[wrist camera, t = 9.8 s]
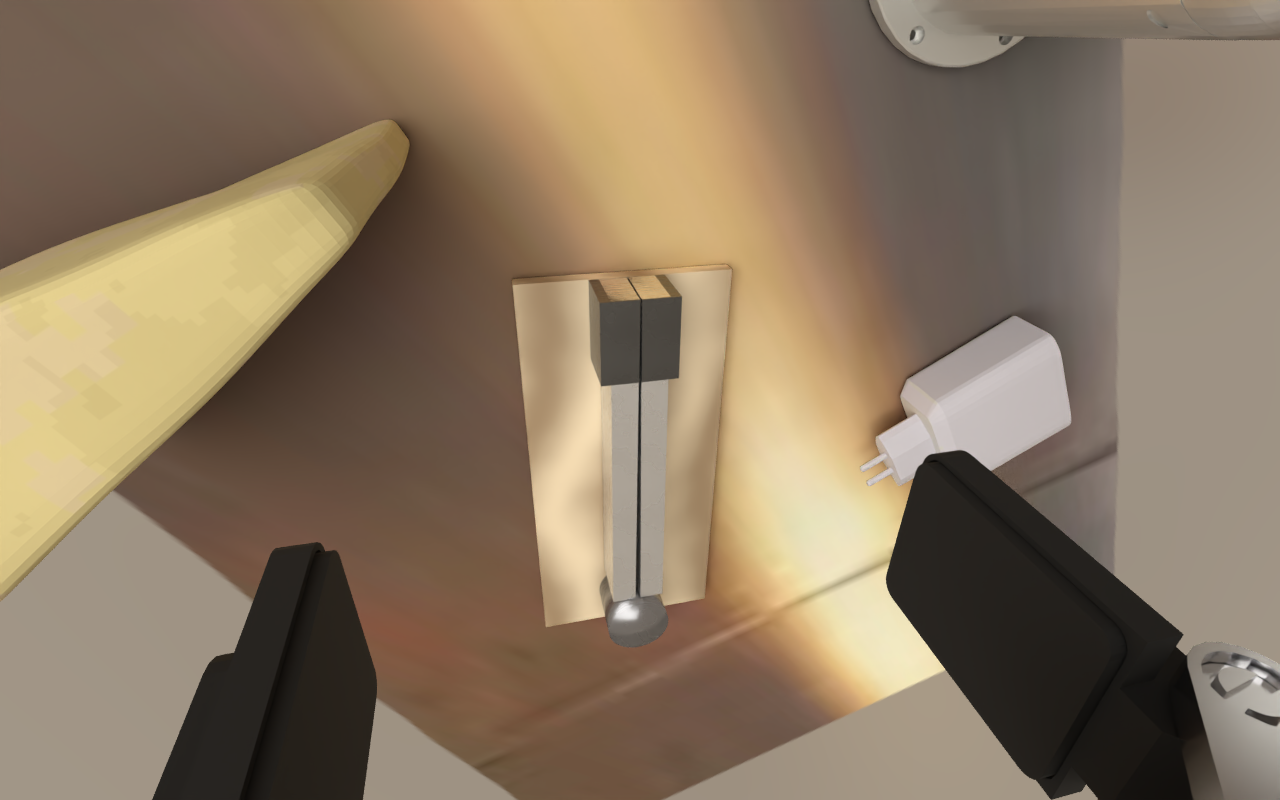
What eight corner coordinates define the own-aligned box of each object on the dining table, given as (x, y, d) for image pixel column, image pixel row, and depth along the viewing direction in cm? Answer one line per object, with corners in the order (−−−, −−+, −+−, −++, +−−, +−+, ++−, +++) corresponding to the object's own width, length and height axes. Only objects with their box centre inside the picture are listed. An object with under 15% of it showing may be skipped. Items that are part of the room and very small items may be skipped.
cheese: (331, 29, 29) (227, 31, 16) (464, 213, 34) (463, 322, 22) (-47, 288, 30) (-409, 473, 18) (136, 426, 36) (-44, 644, 23)
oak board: (726, 263, 39) (732, 269, 38) (700, 589, 53) (704, 598, 52) (511, 278, 36) (512, 285, 36) (544, 617, 50) (546, 627, 50)
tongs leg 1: (625, 563, 48) (635, 599, 45) (596, 568, 48) (605, 604, 45) (626, 277, 37) (640, 300, 34) (588, 279, 36) (599, 302, 33)
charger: (829, 418, 47) (1008, 311, 46) (864, 494, 52) (1027, 399, 51) (862, 454, 43) (1059, 337, 42) (897, 532, 48) (1074, 430, 47)
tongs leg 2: (658, 557, 49) (670, 593, 46) (629, 562, 48) (640, 598, 45) (664, 274, 37) (682, 296, 34) (627, 277, 37) (642, 299, 34)
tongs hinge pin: (655, 560, 49) (669, 599, 45) (654, 600, 51) (667, 641, 48) (598, 569, 48) (608, 610, 45) (600, 610, 50) (609, 652, 47)
